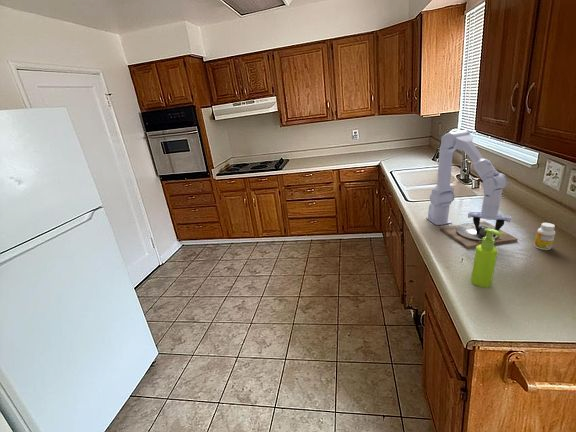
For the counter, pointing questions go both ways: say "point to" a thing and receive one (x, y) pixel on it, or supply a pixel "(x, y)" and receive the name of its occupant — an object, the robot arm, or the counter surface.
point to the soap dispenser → (485, 259)
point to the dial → (473, 231)
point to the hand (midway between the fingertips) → (485, 234)
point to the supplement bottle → (545, 236)
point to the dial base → (474, 243)
